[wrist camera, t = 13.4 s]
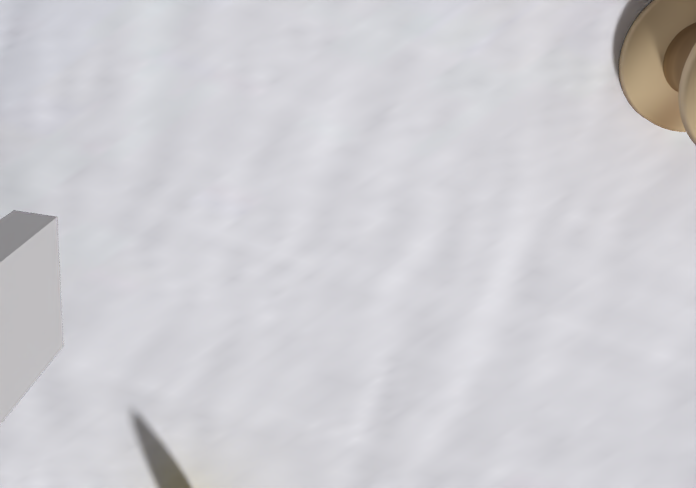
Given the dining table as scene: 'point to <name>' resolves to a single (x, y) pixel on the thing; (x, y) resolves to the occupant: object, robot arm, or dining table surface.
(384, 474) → the dining table surface
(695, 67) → the bobbin
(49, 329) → the robot arm
